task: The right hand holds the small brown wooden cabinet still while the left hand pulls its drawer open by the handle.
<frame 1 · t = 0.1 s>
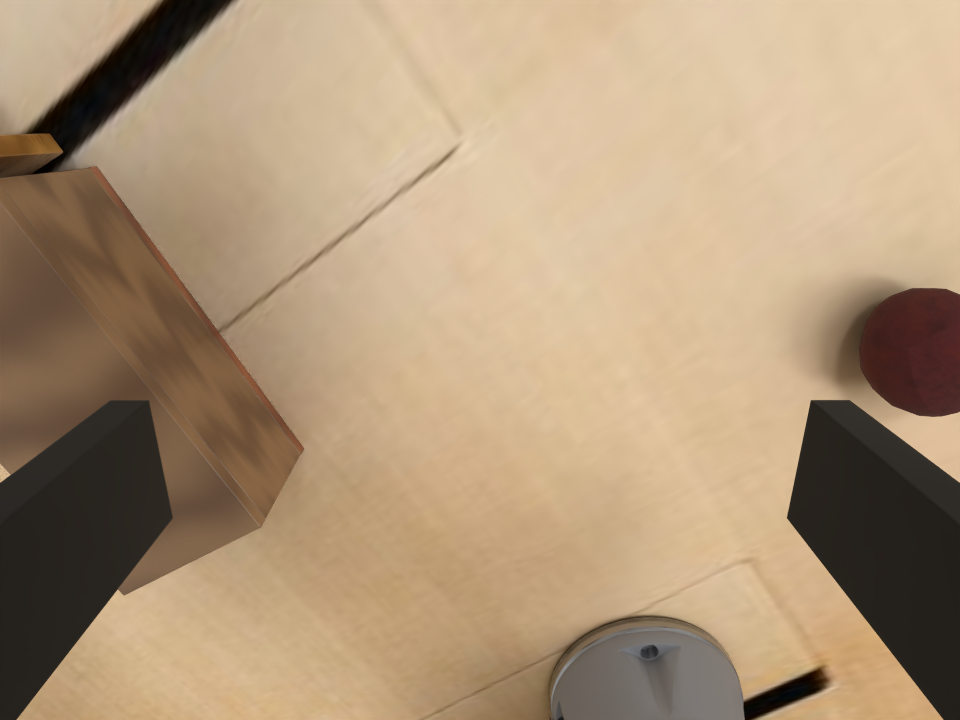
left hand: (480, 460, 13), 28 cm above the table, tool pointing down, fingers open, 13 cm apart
cabinet: (148, 354, 42), on the table
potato: (891, 331, 41), on the table
drawer: (42, 298, 36), point 5 cm above the table, slide at 1.3 cm
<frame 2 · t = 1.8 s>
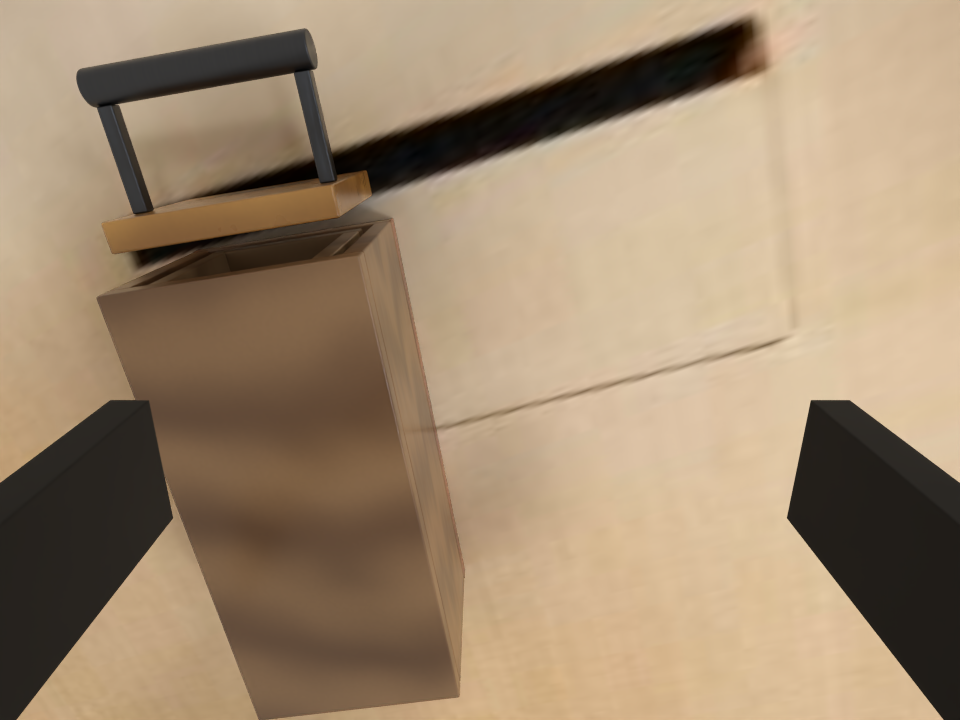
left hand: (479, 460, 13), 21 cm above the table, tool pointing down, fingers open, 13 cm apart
cabinet: (345, 425, 35), on the table
drawer: (296, 360, 29), point 5 cm above the table, slide at 1.3 cm
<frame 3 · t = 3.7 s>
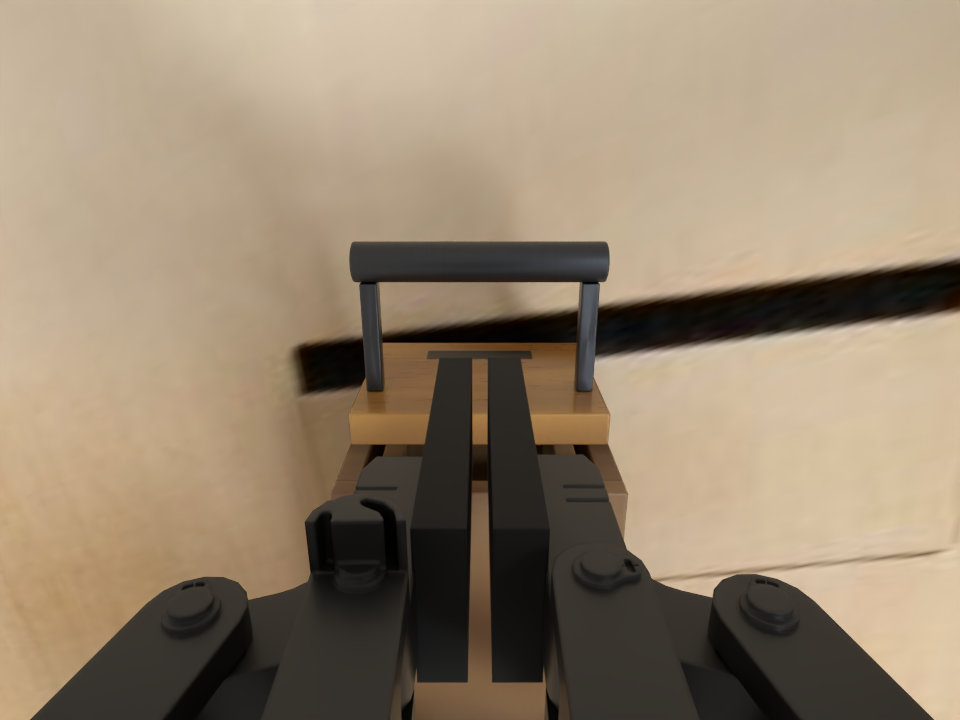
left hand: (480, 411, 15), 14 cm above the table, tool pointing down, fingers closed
cabinet: (479, 573, 34), on the table, touching right hand
drawer: (479, 535, 27), point 5 cm above the table, slide at 1.3 cm
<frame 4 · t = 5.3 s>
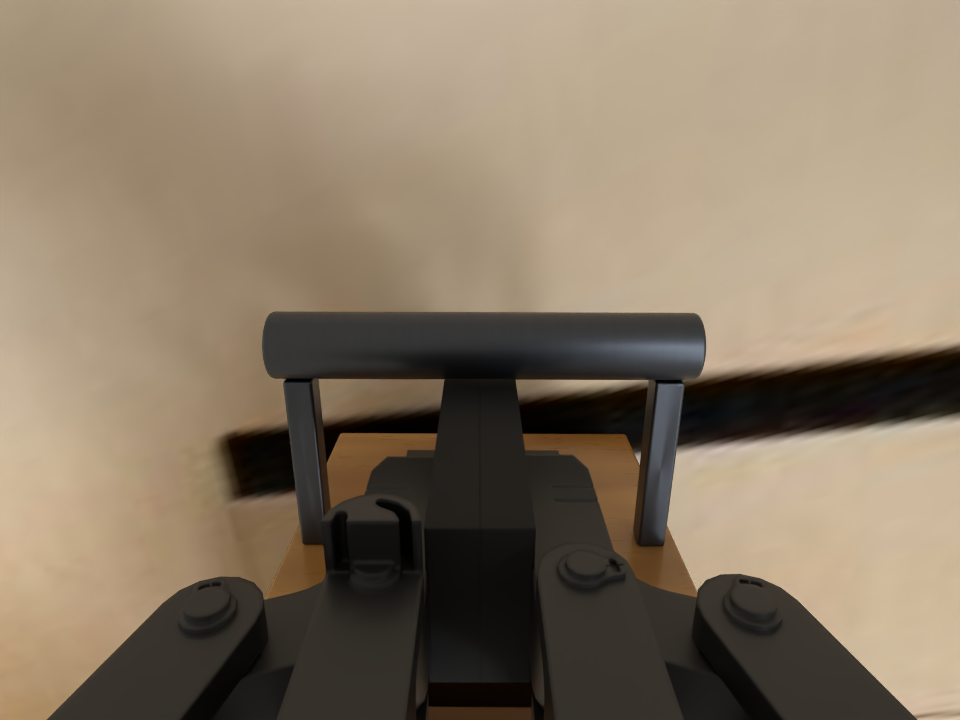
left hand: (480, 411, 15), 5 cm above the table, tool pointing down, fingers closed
drawer: (481, 718, 19), point 5 cm above the table, slide at 1.4 cm, touching left hand
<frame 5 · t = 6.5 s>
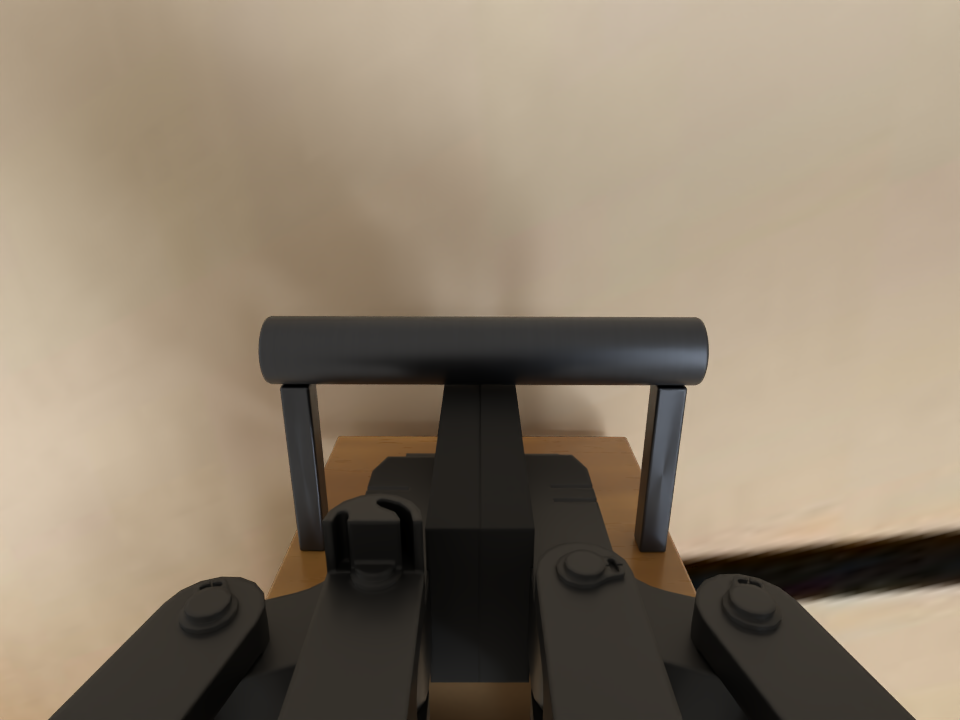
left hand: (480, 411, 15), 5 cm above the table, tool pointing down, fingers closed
when the right hand's fingers open (4 cm above the table, at t = 8.2 s): cabinet stays where it is, on the table.
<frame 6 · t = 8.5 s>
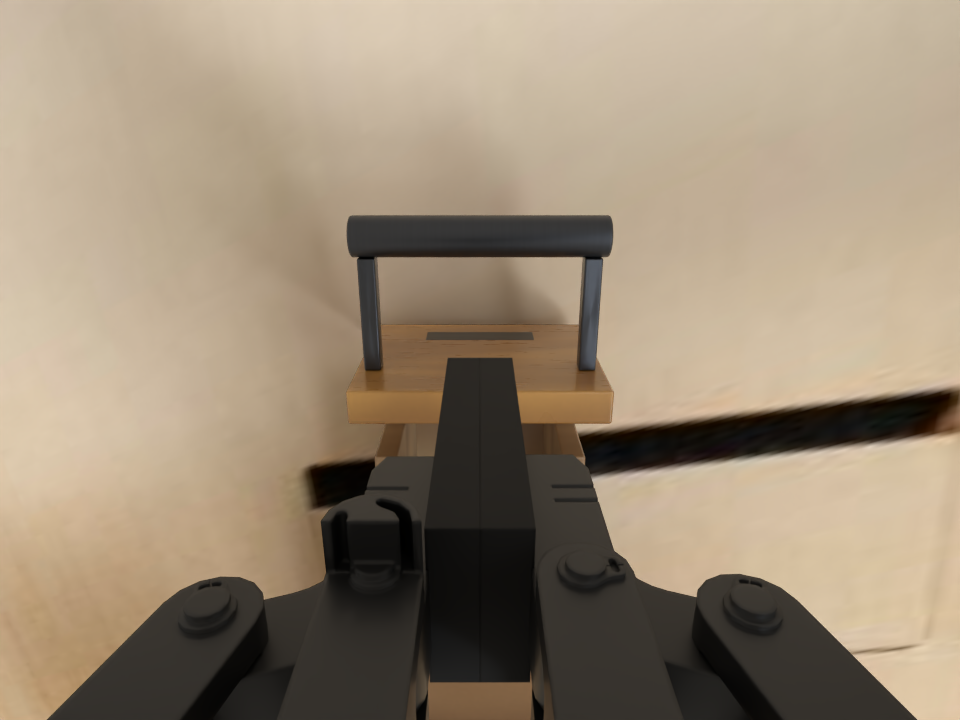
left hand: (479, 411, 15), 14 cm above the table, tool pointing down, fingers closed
cabinet: (479, 662, 35), on the table
drawer: (479, 520, 27), point 5 cm above the table, slide at 8.2 cm
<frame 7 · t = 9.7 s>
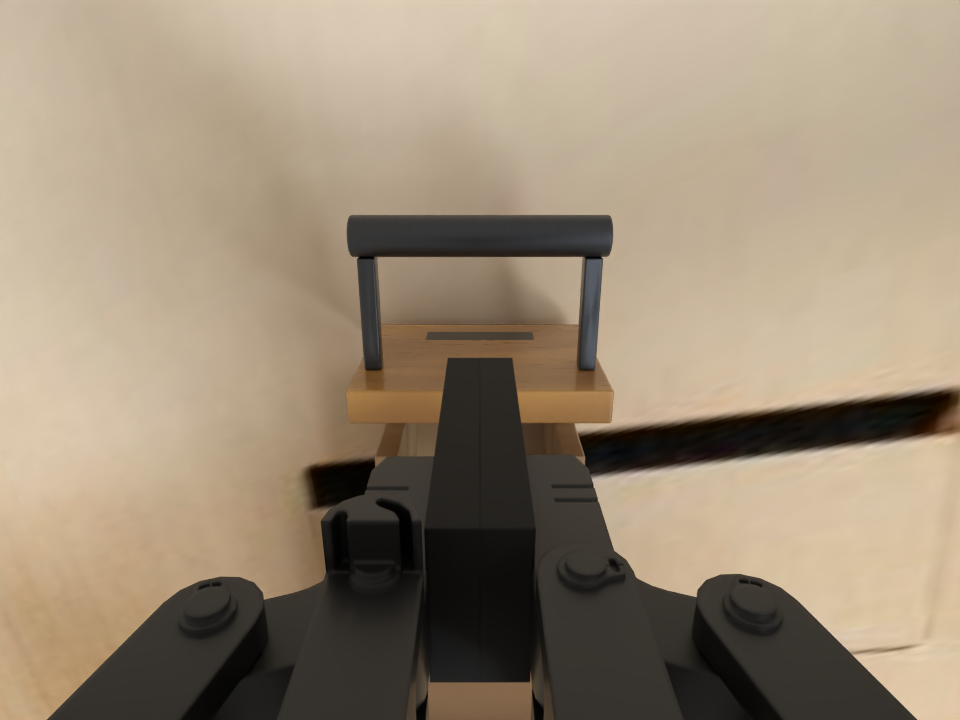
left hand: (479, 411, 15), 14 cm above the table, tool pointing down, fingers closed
cabinet: (479, 662, 35), on the table
drawer: (479, 520, 27), point 5 cm above the table, slide at 8.2 cm
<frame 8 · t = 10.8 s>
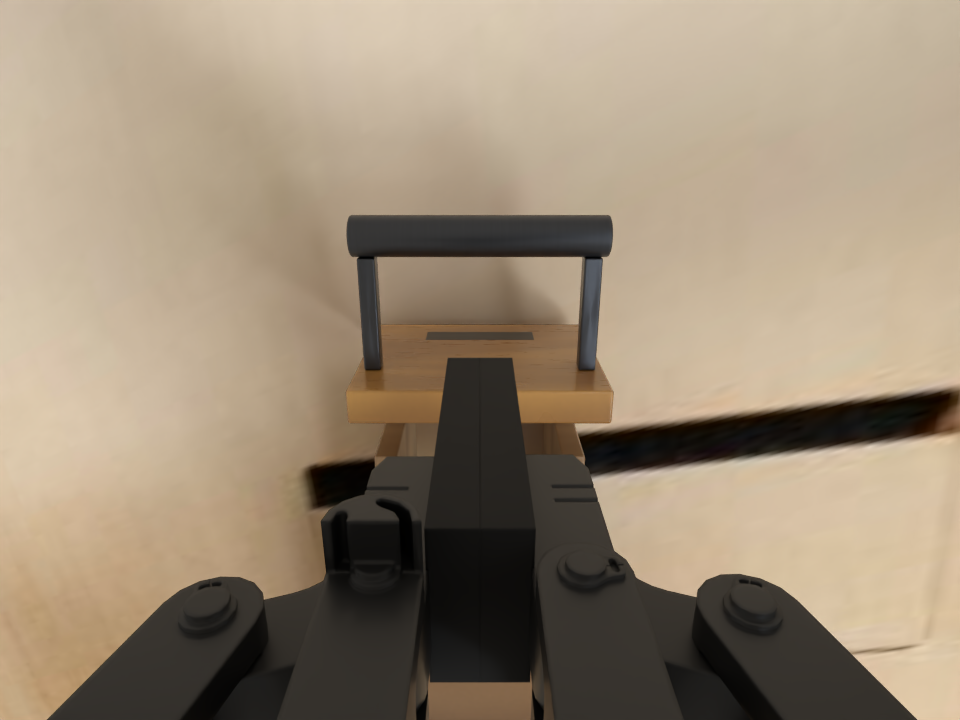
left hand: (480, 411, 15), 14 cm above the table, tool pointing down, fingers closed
cabinet: (479, 662, 35), on the table
drawer: (479, 520, 27), point 5 cm above the table, slide at 8.2 cm
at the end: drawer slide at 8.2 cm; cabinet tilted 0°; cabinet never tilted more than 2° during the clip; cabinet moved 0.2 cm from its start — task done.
